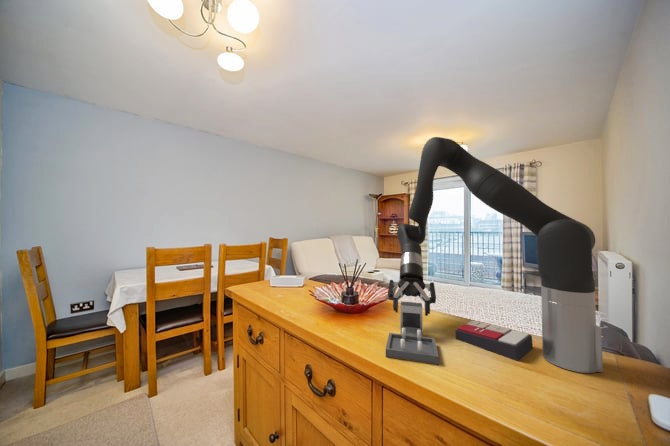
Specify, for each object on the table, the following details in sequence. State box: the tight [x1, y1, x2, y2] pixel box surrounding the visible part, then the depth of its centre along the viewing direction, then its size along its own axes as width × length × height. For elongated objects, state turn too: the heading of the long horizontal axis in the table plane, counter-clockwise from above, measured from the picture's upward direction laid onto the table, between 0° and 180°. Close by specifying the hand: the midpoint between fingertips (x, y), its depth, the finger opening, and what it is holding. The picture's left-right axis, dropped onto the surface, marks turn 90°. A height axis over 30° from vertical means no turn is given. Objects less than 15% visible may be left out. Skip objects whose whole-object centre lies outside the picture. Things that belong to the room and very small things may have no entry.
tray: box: [385, 328, 440, 365], centre depth 63 cm, size 12×10×4 cm
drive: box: [399, 300, 424, 337], centre depth 73 cm, size 6×4×9 cm
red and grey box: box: [455, 320, 534, 362], centre depth 67 cm, size 11×4×15 cm
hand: (411, 313), depth 74 cm, fingers open, 8 cm apart
